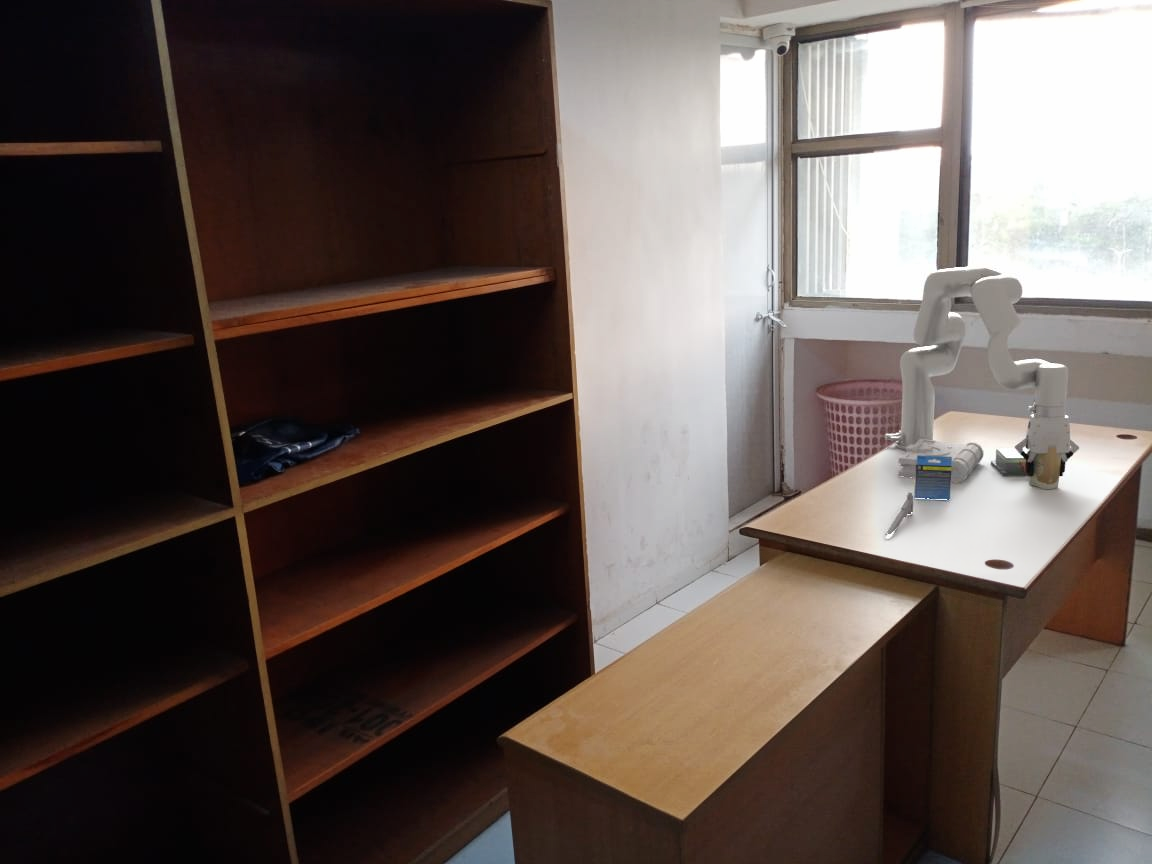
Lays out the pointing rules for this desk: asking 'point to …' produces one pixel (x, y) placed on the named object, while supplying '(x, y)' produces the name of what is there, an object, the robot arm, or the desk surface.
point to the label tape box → (933, 477)
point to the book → (961, 454)
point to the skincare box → (1046, 469)
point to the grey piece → (1010, 462)
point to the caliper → (902, 512)
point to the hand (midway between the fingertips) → (1044, 474)
